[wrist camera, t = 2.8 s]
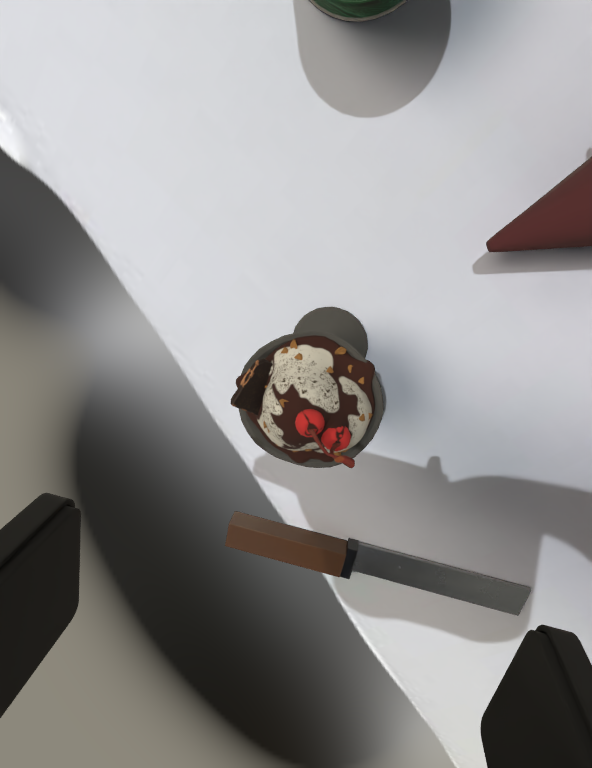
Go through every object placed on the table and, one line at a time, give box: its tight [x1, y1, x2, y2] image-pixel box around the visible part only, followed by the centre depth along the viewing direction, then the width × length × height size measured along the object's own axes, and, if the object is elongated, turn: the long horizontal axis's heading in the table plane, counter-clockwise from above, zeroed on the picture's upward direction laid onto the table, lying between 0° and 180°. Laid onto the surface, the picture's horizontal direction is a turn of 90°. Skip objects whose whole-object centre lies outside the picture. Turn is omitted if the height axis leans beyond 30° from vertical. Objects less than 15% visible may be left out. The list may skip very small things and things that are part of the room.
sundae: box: [231, 307, 384, 468], centre depth 23 cm, size 7×7×15 cm
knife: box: [225, 511, 531, 616], centre depth 35 cm, size 23×3×2 cm, turn 79°
